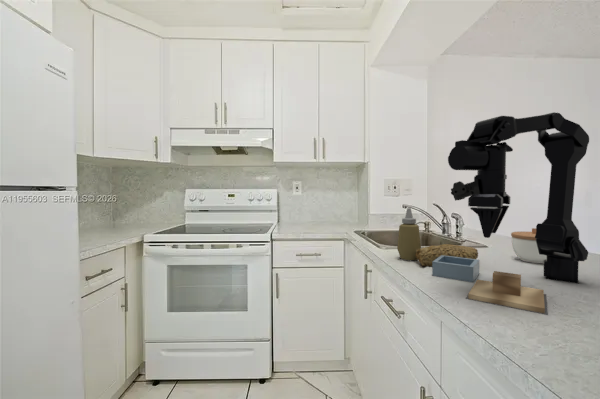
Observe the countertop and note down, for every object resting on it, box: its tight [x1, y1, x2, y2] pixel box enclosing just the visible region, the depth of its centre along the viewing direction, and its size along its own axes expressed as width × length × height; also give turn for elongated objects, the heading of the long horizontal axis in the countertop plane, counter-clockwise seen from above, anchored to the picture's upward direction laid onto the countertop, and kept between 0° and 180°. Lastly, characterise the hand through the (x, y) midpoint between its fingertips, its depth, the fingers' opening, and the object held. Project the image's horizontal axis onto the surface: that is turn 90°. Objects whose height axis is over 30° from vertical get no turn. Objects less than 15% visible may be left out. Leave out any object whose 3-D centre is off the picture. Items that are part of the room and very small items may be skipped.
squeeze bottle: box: [396, 207, 422, 261], centre depth 104 cm, size 8×8×18 cm
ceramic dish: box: [431, 255, 480, 283], centre depth 83 cm, size 10×10×4 cm
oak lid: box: [467, 270, 545, 313], centre depth 66 cm, size 13×13×5 cm
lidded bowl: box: [510, 227, 547, 264], centre depth 100 cm, size 13×13×11 cm
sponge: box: [416, 243, 479, 267], centre depth 97 cm, size 13×8×20 cm
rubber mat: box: [465, 289, 549, 316], centre depth 66 cm, size 14×14×1 cm
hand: (490, 235), depth 72 cm, fingers open, 9 cm apart
